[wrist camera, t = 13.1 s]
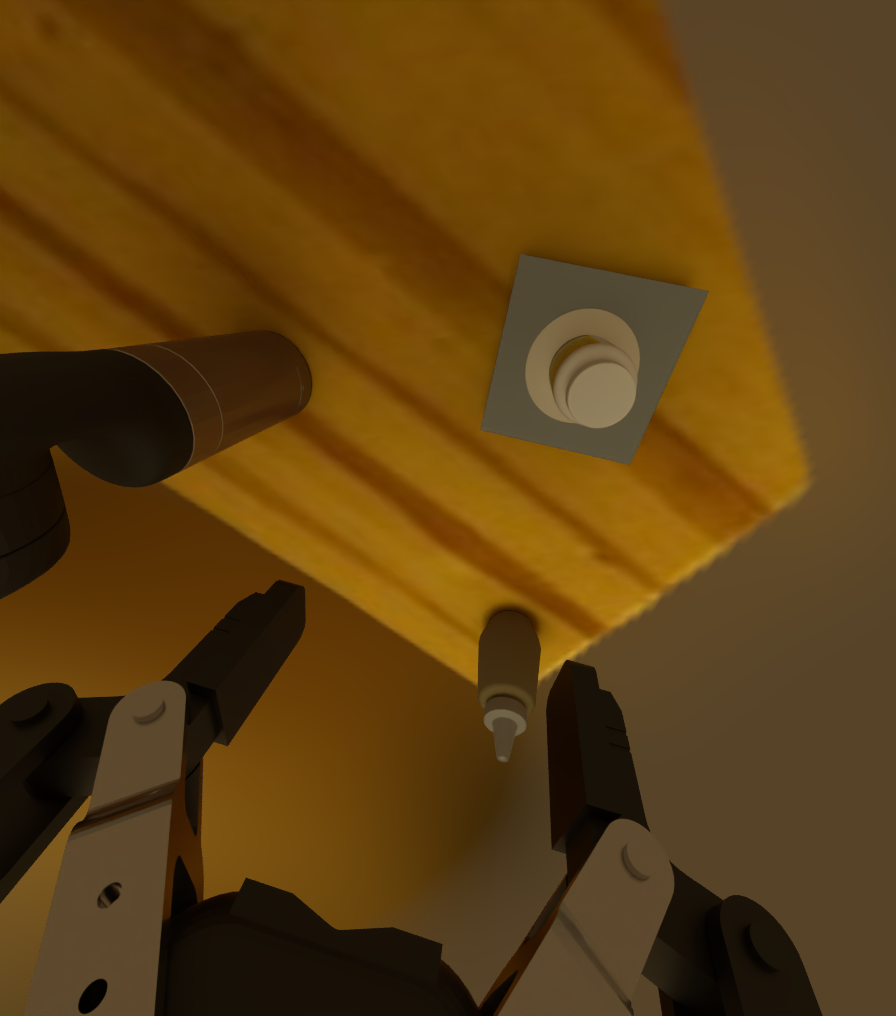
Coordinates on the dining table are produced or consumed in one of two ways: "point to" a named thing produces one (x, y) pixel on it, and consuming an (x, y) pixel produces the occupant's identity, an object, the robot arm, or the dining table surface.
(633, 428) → the charcoal stand
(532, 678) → the squeeze bottle
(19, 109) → the dining table surface
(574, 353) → the supplement bottle
